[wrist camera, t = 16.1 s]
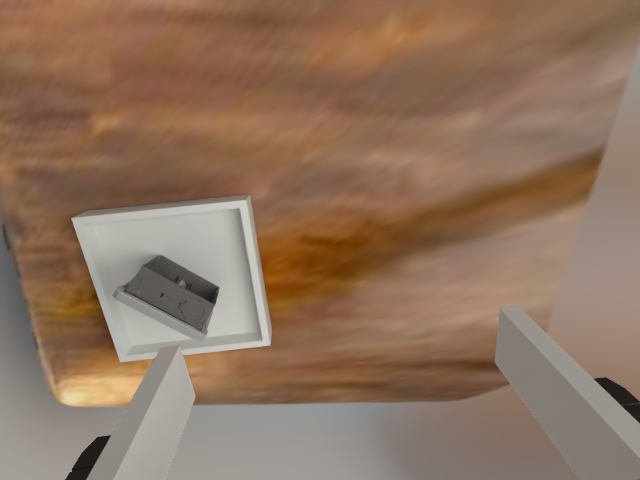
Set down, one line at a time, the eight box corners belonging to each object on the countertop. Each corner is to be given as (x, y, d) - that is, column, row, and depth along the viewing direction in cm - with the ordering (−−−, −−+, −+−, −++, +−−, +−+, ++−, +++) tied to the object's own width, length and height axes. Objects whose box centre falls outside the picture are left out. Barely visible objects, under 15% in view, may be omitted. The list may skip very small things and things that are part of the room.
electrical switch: (138, 275, 41) (100, 311, 32) (160, 239, 41) (127, 266, 32) (210, 314, 44) (193, 357, 35) (233, 280, 43) (221, 315, 34)
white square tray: (249, 193, 40) (246, 199, 37) (272, 331, 46) (270, 345, 43) (87, 210, 40) (71, 218, 37) (131, 346, 46) (120, 362, 43)
